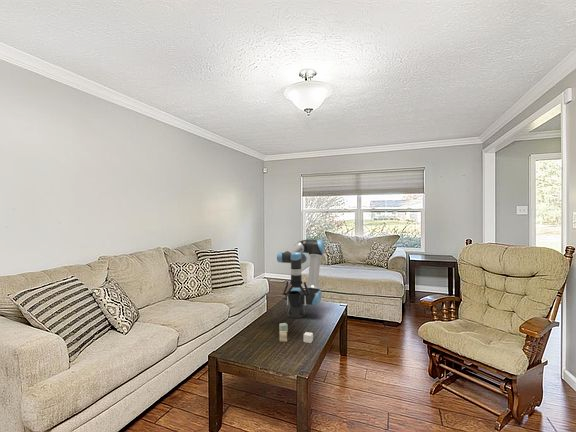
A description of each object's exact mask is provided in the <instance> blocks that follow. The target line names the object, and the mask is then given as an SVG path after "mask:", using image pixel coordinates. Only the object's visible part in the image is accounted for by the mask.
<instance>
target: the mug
mask: <svg viewBox="0 0 576 432" xmlns="http://www.w3.org/2000/svg"><path fill="white" fill-rule="evenodd" d="M300 295H303V299H304V297H305V295H304V294H300V292H299V291H290V292H289V293H288V298H289V306H292V307H296V306H299V305H300V304H301V303H302V301H303V299H302V301H301V302H300V303H299V299H300Z"/></svg>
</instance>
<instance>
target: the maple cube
mask: <svg viewBox="0 0 576 432" xmlns="http://www.w3.org/2000/svg"><path fill="white" fill-rule="evenodd" d="M279 342H280V343H281V342H288V332H287V331H280V330H279Z"/></svg>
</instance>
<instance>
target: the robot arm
mask: <svg viewBox="0 0 576 432" xmlns="http://www.w3.org/2000/svg"><path fill="white" fill-rule="evenodd" d="M325 251H326V248H325V243H324V241H323V240H321V239H303V240H299V241H297V242H296V243H295V244H293V246H292V247H290V248H289V249H287V250H286V251H284V252H278V253H277V254H276V261H277V263H281V264H284V263H285V264H290V274H291V275H290V281H289V280H287V281H286V285H285V288H284V290H283V293H282V295H283V296H285V300H286V306H289V307H288V310H287V317H288V318H290V319H302V318H305V317H306V310H305V306H307V305H309V306H318V305H319V304H321V301H322V296H323V295H322V291H321V288H320V287H319V281H320V280H319V278H320V266H321V265H320V264H321V258H322V257H323V255H324V254H325ZM307 254H308V256H309V265H308V266H309V267H308V280H307V281H303V279H302V264H305V262H307V260H308V256H307ZM302 284H303V285H304V287H303V286H302ZM289 285H290V288H289V289H288V287H289ZM287 289H288V290H287ZM290 291H299V292H300V294H304V295H305V297H304V299H303V295H300V299H299V303H300V302H301V301H302V299H303V301H302V303H301V304H300V305H299V306H296V307H292V306H290V303H289V298H288V293H289V292H290Z"/></svg>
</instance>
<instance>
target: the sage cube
mask: <svg viewBox="0 0 576 432" xmlns="http://www.w3.org/2000/svg"><path fill="white" fill-rule="evenodd" d="M278 327H279V329H278V330H279V332H280V331H287V333H288V332H289V325H288V324H287V322H282V323H281V322H280V323H279V325H278Z"/></svg>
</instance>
